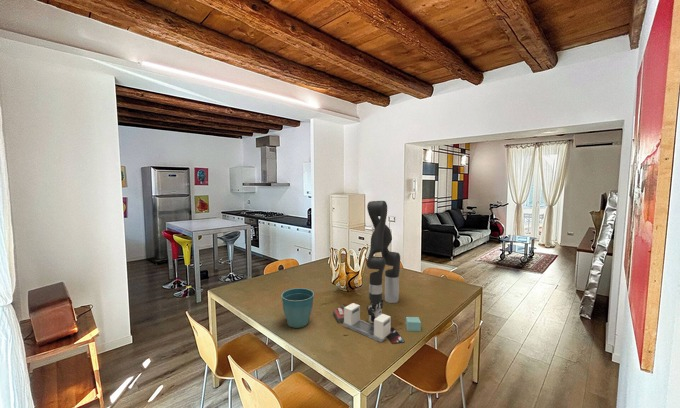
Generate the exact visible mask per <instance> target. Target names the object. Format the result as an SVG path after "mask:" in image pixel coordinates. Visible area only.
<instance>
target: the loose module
mask: <svg viewBox="0 0 680 408" xmlns="http://www.w3.org/2000/svg"><path fill="white" fill-rule="evenodd" d="M372 310H375V309H372ZM382 312H383V308H382V309H379V308H377V311H376V312H375V318H377V317H378V316H380V315H381V314H383V313H382ZM373 313H374V312H373ZM368 323H370V324H373V325H374V322H372V321H371V316H370V315H368Z"/></svg>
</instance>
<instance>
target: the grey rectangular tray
mask: <svg viewBox="0 0 680 408" xmlns="http://www.w3.org/2000/svg"><path fill="white" fill-rule="evenodd" d="M342 327H344V328H347V329H348V330H349V329H350V330H351V331H354V332H356V333H358V334H360V335H363V336H365V337H368V338H370V339H371V340H374V341H376V342H379V343H383V342H384V341H385V340H386V339H388V338H387V337H388V336H389V335H391V332H390V334H389V335H387V336H386V337H385V338H384V339H381V338H379V337H377V336H374V324H373V323H371V322H369V321H368V322H367V321H365V320H363V319H360V320H359V321H358V322H357V323H355V324H354V325H349V324H346V323H342Z"/></svg>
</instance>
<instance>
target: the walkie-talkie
mask: <svg viewBox="0 0 680 408" xmlns="http://www.w3.org/2000/svg"><path fill="white" fill-rule="evenodd" d="M344 307H345V306H344V304H342V303H341V307H337V309H333V316H334V318H335V320H336V322H337V324H343V323H344Z"/></svg>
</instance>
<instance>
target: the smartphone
mask: <svg viewBox="0 0 680 408" xmlns="http://www.w3.org/2000/svg"><path fill="white" fill-rule="evenodd" d="M390 332H391V335H389V336H388V337H387V338H386V339H388V341H389V342H390V344H392V345H397V344H398V345H399V344H405V342H406V341H405V339H404V338H402V336H401V335H400V334H399V333H398V331H397V330H396V329H395V328H394V327H391V329H390Z"/></svg>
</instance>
